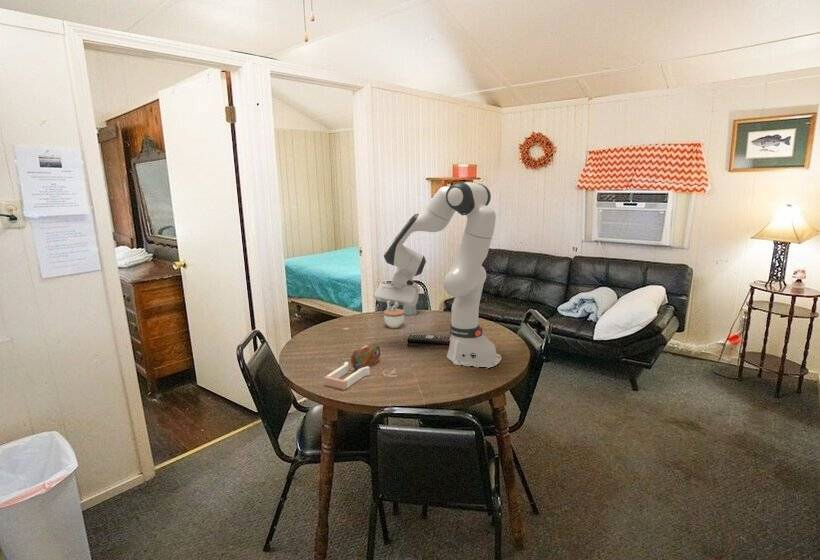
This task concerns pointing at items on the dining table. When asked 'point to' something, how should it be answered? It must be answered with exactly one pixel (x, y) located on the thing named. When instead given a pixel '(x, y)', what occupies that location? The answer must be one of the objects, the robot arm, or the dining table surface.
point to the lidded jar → (394, 318)
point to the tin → (365, 356)
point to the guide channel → (338, 383)
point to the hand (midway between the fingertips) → (389, 310)
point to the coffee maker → (409, 310)
